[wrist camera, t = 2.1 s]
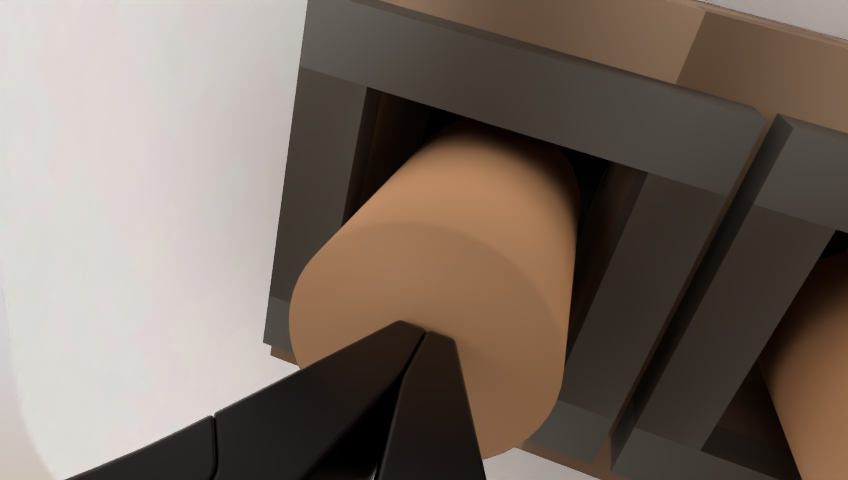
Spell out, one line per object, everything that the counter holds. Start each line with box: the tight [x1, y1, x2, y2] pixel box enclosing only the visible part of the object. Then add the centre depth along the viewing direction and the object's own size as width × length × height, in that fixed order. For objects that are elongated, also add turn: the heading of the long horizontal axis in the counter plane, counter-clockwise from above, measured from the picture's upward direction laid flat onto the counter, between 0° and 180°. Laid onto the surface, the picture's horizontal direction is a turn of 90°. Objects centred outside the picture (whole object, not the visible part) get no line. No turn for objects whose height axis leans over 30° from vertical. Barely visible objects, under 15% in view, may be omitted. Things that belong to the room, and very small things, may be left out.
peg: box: [289, 118, 580, 459], centre depth 11 cm, size 4×4×6 cm
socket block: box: [263, 0, 848, 480], centre depth 14 cm, size 16×10×6 cm, turn 77°
